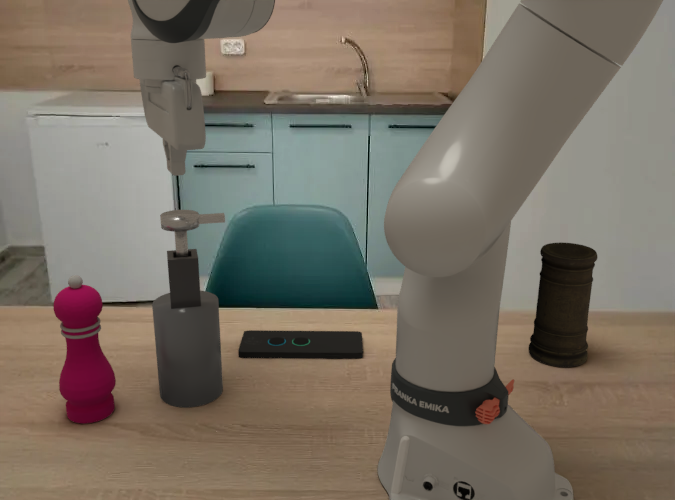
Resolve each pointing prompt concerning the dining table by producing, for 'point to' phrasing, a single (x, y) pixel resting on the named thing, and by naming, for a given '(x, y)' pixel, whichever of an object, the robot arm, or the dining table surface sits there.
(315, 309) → the dining table surface
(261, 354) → the smart home device
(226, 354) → the dining table surface
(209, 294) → the dispenser
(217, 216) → the pump head
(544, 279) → the container
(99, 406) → the pepper mill
